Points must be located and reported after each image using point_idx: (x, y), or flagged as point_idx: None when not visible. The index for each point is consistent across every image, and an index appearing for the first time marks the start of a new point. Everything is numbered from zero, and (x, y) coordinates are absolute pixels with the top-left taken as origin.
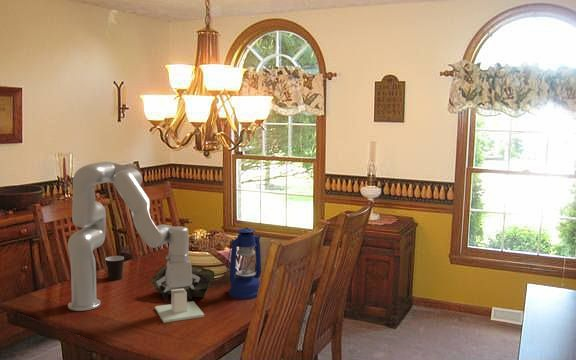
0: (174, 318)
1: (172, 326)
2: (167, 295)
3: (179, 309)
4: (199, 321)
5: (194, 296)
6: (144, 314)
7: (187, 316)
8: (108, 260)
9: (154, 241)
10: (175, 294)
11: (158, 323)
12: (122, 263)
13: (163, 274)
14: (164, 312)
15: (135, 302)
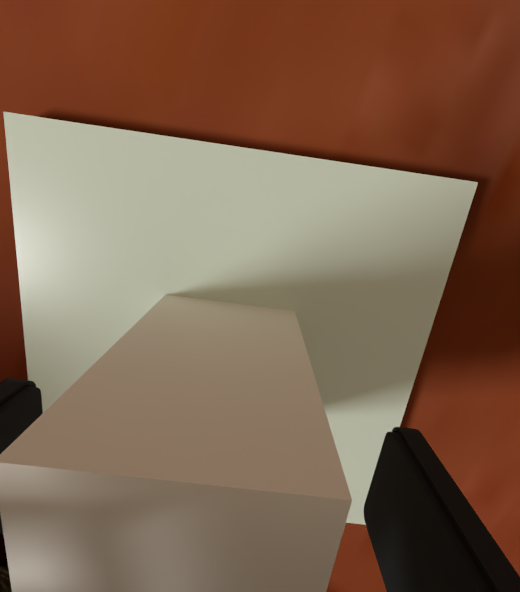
0: (355, 171)
1: (437, 24)
2: (466, 522)
3: (240, 316)
4: (111, 3)
5: (8, 570)
6: (486, 444)
7: (205, 152)
8: None
9: None
10: (316, 476)
11: (506, 195)
12: None
13: None
14: (366, 374)
15: None
